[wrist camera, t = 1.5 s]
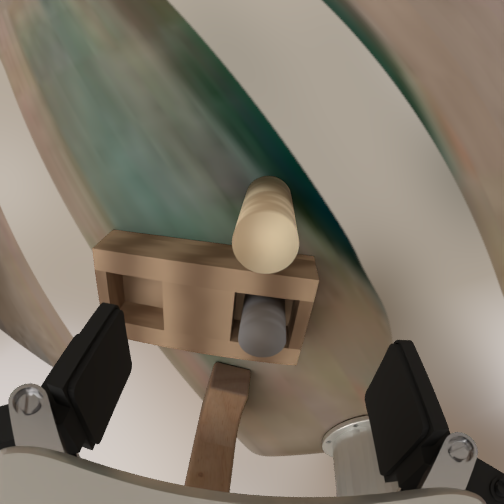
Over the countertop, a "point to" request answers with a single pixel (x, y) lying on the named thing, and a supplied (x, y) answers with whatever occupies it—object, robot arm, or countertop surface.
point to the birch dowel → (266, 227)
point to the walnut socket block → (205, 297)
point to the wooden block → (218, 428)
